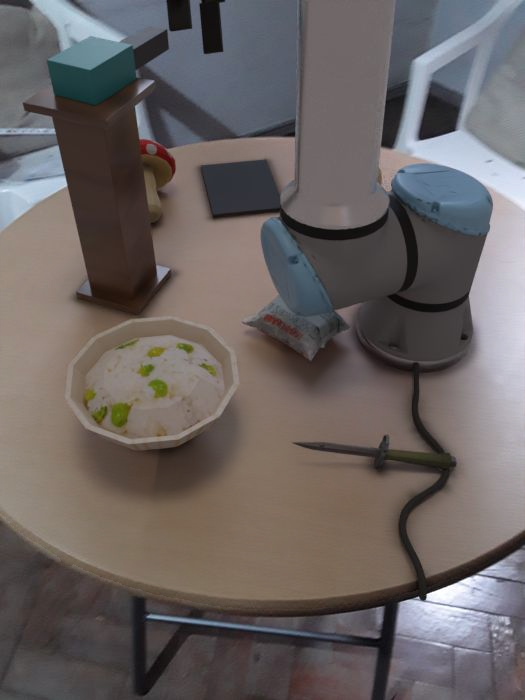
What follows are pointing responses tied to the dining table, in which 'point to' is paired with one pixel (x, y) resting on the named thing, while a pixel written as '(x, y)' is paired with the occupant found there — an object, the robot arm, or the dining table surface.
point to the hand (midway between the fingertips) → (198, 42)
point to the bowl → (152, 382)
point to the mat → (241, 188)
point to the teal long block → (104, 64)
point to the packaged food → (297, 327)
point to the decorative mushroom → (156, 173)
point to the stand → (107, 193)
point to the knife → (386, 453)
